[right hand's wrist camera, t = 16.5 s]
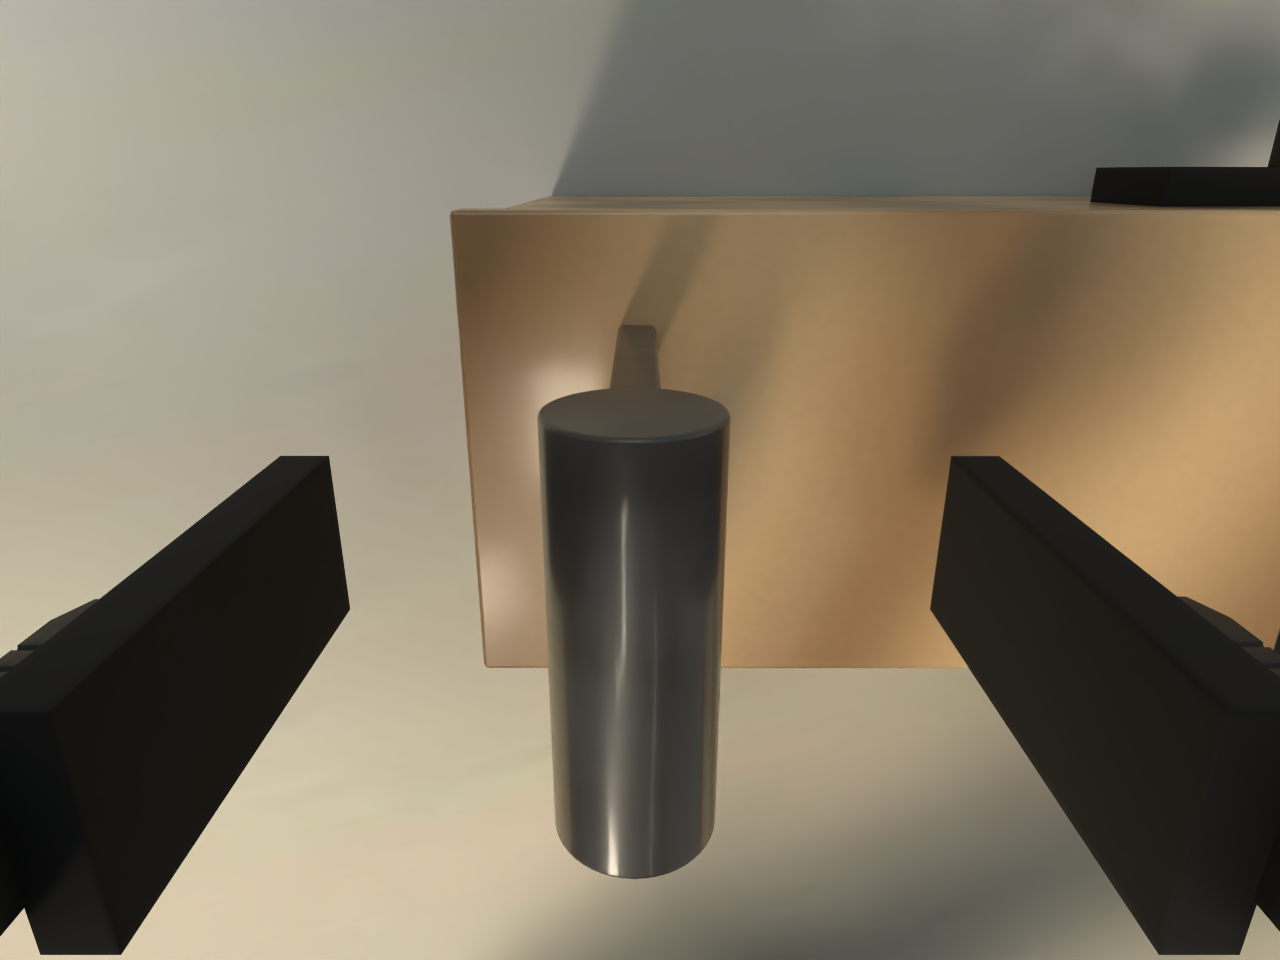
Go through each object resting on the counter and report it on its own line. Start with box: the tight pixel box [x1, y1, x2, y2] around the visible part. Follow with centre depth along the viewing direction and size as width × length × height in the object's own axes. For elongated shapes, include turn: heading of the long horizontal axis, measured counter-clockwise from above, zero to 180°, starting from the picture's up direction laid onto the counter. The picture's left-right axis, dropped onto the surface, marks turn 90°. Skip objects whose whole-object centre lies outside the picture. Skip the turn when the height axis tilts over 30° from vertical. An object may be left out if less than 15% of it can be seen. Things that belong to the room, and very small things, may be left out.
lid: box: [450, 209, 1280, 879], centre depth 13 cm, size 17×10×8 cm, turn 90°
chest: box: [506, 196, 1280, 209], centre depth 21 cm, size 16×10×9 cm, turn 90°
